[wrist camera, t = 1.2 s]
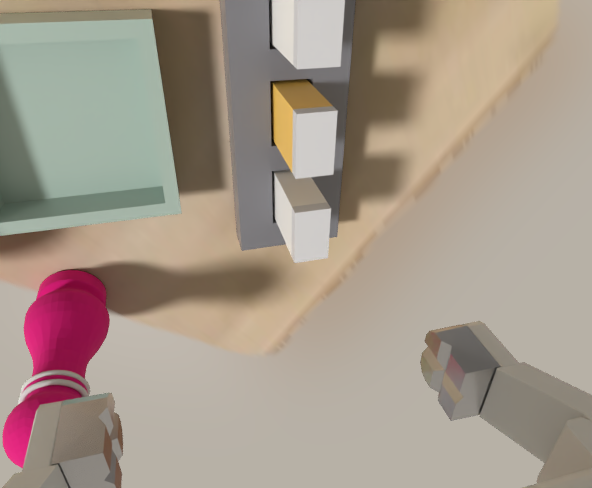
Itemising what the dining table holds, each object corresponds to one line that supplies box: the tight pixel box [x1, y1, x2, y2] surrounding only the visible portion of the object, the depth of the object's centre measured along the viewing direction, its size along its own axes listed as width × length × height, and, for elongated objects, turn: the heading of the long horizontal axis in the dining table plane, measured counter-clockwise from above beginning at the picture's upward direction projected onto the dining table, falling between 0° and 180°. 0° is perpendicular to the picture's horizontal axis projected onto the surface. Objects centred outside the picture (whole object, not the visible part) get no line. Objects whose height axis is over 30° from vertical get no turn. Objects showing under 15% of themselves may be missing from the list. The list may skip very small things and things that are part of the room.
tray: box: [0, 9, 181, 236], centre depth 36 cm, size 16×16×4 cm
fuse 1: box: [269, 0, 345, 69], centre depth 33 cm, size 5×3×10 cm, turn 0°
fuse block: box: [220, 0, 356, 251], centre depth 41 cm, size 27×10×3 cm, turn 179°
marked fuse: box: [270, 79, 338, 179], centre depth 38 cm, size 5×3×10 cm, turn 179°
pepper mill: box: [3, 270, 109, 468], centre depth 39 cm, size 7×7×20 cm
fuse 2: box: [272, 169, 331, 263], centre depth 43 cm, size 5×3×10 cm, turn 179°
